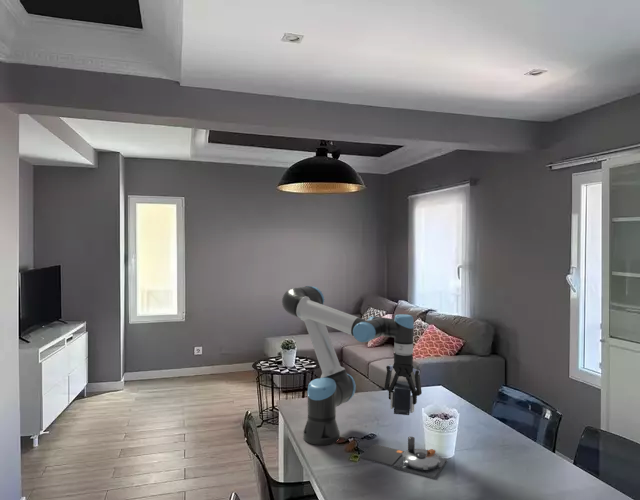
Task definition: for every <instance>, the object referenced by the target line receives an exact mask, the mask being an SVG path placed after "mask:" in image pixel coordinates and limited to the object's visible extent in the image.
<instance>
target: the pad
mask: <svg viewBox="0 0 640 500" xmlns="http://www.w3.org/2000/svg"><path fill="white" fill-rule="evenodd" d="M405 451H406V450H400V449H397V448H393V447H388V446H383V445H382V444H381V445H379V444H375V443H373V444H372V445H371V446H369V447H368V448H367V449H366V450H364V452H363V453H362V454H361V455H359V457H360V458H359V459H363V460H366V461H370V462H372V463H373V462H375V463H378V464H382V465H385V466H389V467H394V465H395V463H396V462H397V461H398V460H399V459H400V458H401V454H402V452H405Z"/></svg>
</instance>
